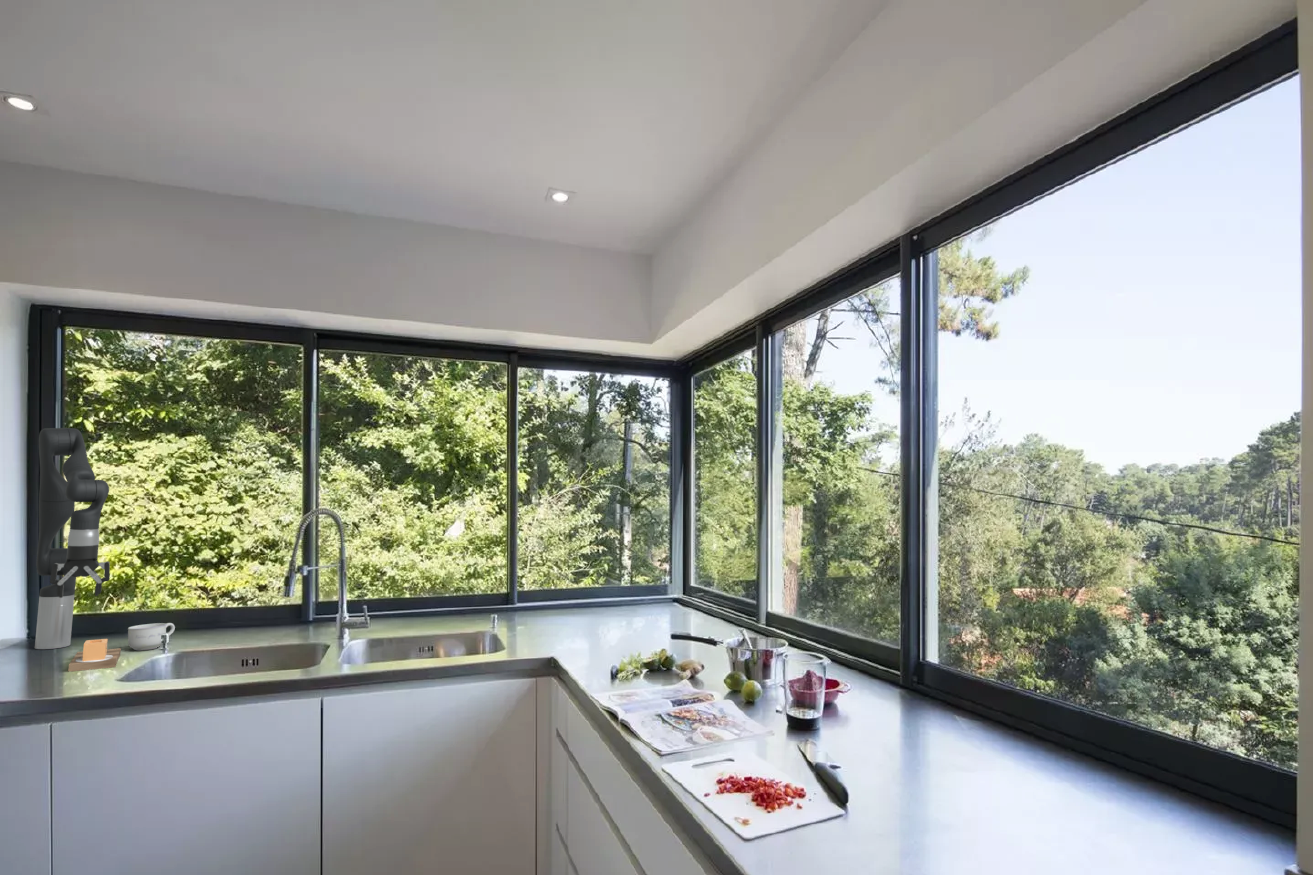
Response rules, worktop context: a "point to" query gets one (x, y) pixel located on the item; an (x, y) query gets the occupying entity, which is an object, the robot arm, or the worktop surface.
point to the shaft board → (95, 661)
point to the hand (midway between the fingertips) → (79, 596)
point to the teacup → (147, 635)
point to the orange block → (95, 649)
